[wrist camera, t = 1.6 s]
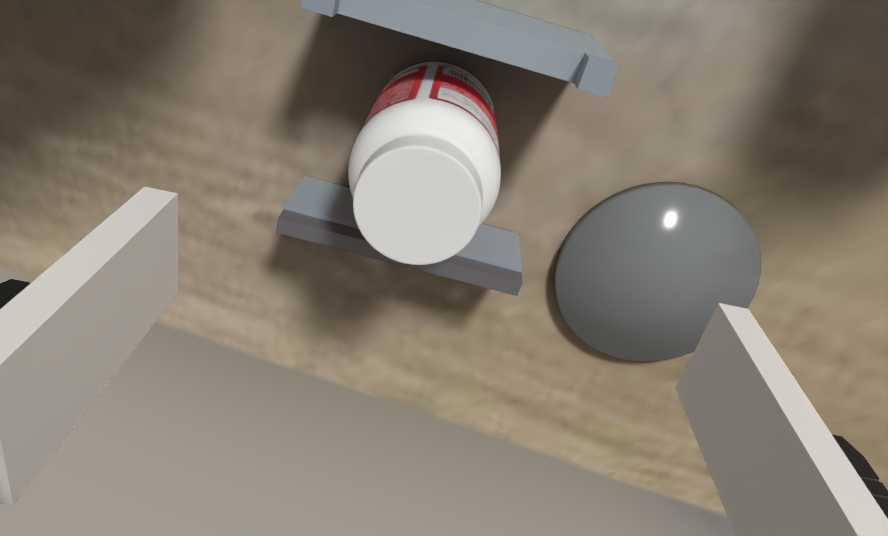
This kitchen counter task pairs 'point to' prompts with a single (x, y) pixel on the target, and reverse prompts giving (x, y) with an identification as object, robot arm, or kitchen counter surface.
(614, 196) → the coaster
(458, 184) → the pill bottle
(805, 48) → the kitchen counter surface
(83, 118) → the kitchen counter surface
